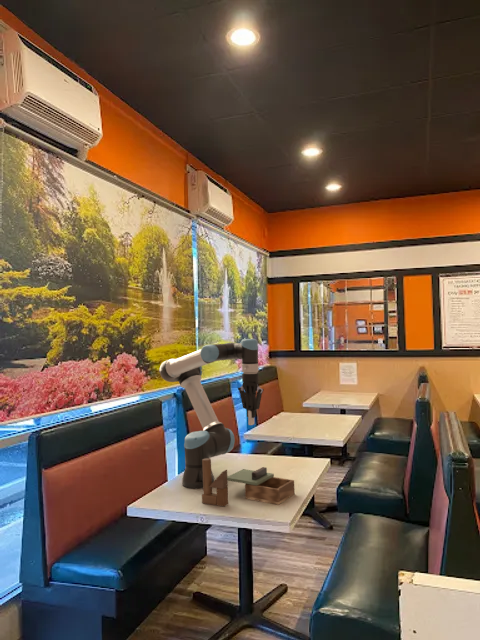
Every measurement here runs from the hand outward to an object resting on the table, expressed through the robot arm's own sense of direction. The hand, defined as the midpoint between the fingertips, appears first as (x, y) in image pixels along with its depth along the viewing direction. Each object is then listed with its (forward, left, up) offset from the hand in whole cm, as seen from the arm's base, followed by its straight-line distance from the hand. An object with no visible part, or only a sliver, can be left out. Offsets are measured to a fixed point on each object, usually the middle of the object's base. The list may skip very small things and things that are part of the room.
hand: (251, 424), depth 225 cm
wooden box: (+14, -9, -28) cm, 32 cm away
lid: (+4, -9, -22) cm, 23 cm away
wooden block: (-2, -26, -28) cm, 39 cm away
